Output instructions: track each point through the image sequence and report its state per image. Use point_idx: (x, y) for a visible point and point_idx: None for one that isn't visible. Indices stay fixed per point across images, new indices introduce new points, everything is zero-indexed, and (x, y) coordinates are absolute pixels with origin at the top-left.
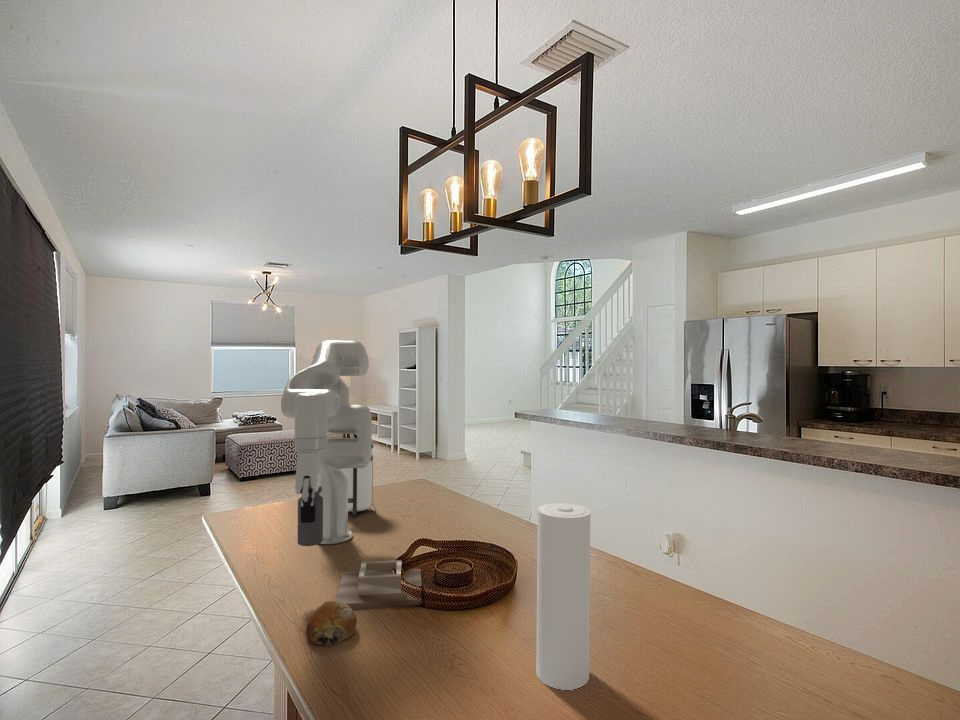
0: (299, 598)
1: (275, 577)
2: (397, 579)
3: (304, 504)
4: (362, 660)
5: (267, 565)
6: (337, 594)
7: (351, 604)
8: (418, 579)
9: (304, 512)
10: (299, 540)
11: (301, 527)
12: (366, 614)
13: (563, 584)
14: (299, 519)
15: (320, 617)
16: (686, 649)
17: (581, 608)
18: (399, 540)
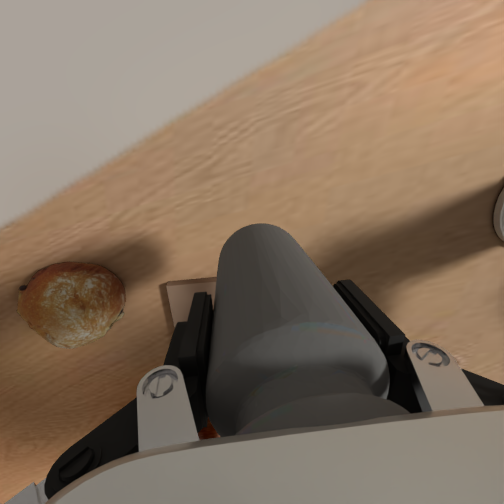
0: (216, 207)
1: (332, 119)
2: None
3: (129, 412)
4: (11, 351)
5: (415, 72)
6: (208, 283)
7: (171, 312)
8: None
9: (170, 351)
10: (230, 241)
11: (221, 272)
12: (154, 332)
13: None
14: (230, 277)
15: (22, 308)
16: None
17: None
18: (460, 332)
